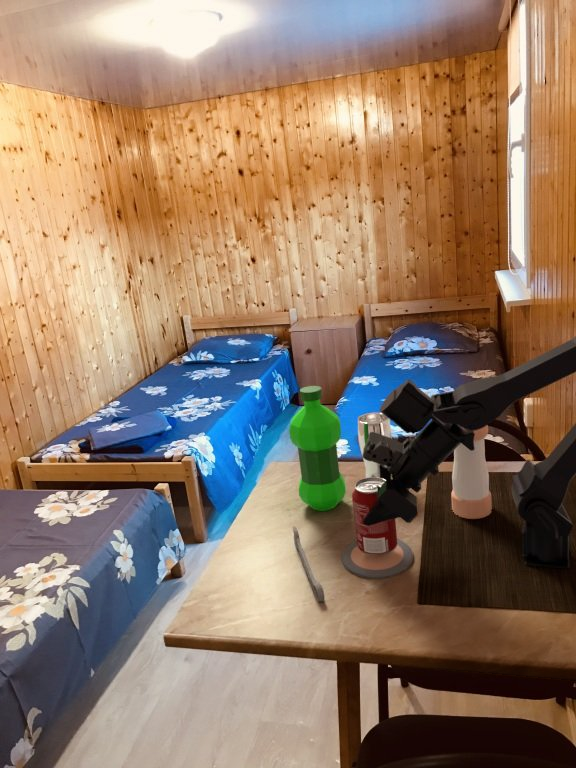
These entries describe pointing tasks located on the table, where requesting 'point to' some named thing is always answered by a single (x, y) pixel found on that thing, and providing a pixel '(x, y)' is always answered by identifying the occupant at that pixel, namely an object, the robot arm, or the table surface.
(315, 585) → the combination wrench
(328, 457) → the plastic bottle
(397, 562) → the coaster
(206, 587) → the table surface
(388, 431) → the beer glass
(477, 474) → the pepper shaker
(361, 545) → the soda can
